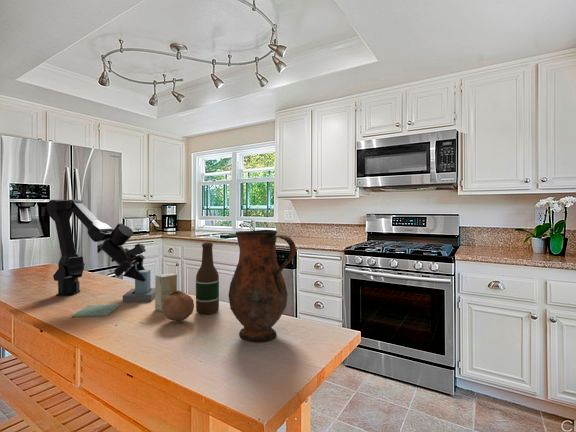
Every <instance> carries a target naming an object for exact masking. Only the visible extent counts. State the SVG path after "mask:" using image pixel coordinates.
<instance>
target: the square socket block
mask: <svg viewBox="0 0 576 432" xmlns="http://www.w3.org/2000/svg"><path fill="white" fill-rule="evenodd" d="M153 300H155V287H151V291H150V292H149V293H148V294H135V288H131V289H129V290H128V291H126V293H124V294H123V295H122V303H138V302H139V303H140V302H142V303H144V302H153Z"/></svg>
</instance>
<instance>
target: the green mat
mask: <svg viewBox="0 0 576 432" xmlns="http://www.w3.org/2000/svg"><path fill="white" fill-rule="evenodd" d="M120 306H121V303H120V304H119V303H117V304H95V305H94V304H91V305H86V306H85V307H83V308H82V309H80V310H78V311H77V312H75V313H74V314H72V315H71V318H85V317H86V318H87V317H88V318H89V317H107V316H109V315H111V314H112V313H114V312H115V311H116V310H117V309H118V308H119V307H120Z"/></svg>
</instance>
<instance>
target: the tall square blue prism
mask: <svg viewBox="0 0 576 432" xmlns="http://www.w3.org/2000/svg"><path fill="white" fill-rule="evenodd" d="M138 271H139V272H140V273H141V274H142V276H143V277H144V278H145V281H144V282H142V281H139V280H136V279H134V289H135V294H148V293H149V292H150V291H151V288H152V287H151V269H145V270H138Z"/></svg>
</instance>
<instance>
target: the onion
mask: <svg viewBox="0 0 576 432" xmlns="http://www.w3.org/2000/svg"><path fill="white" fill-rule="evenodd" d="M194 309H195V303H194V299H193V298H192V296H191V295H190V294H189V295H188V294H187V293H185V292H183V291H182V290H177V291H174V292H173V293H170V294H169V296H168V297H167V298H166V299H165V300H164V302H163V305H162V310H163V311H162V313H163V315H164V317H165V318H166V319H168V320H170V321H174V322H177V323H181V322H184V321H185V320H187V319H188V317H190V316H191V315H193V311H194Z"/></svg>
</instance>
